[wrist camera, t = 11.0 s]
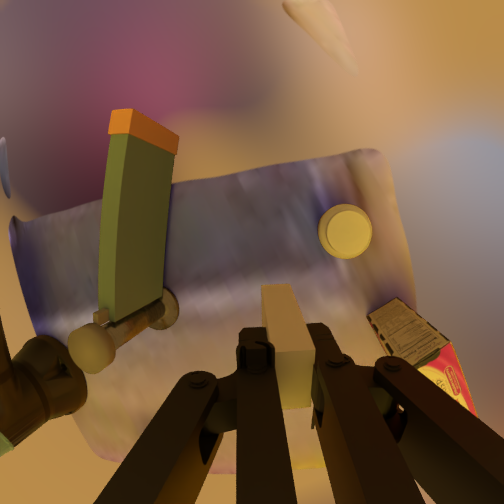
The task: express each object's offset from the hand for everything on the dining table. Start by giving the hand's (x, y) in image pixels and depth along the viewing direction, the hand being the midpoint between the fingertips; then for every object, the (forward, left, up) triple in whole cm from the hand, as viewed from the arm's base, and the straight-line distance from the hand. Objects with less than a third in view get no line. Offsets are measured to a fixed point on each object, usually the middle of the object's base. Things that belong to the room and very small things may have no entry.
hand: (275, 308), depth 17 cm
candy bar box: (+16, -7, -21) cm, 28 cm away
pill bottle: (+5, +5, -21) cm, 22 cm away
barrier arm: (-16, 0, -20) cm, 26 cm away
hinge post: (-16, -10, -21) cm, 28 cm away
